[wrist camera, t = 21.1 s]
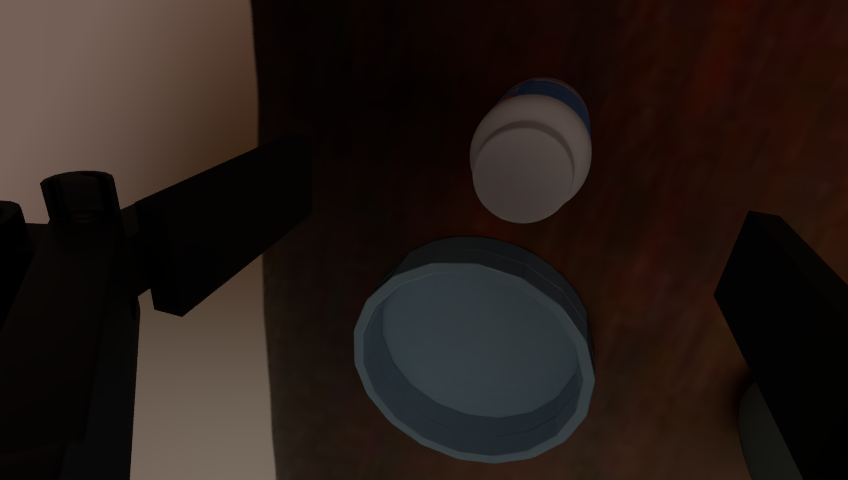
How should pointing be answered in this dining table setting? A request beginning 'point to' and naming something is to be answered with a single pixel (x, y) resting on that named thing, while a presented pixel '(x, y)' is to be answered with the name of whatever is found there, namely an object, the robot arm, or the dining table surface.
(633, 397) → the dining table surface
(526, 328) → the shallow blue dish
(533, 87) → the pill bottle
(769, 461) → the cup
